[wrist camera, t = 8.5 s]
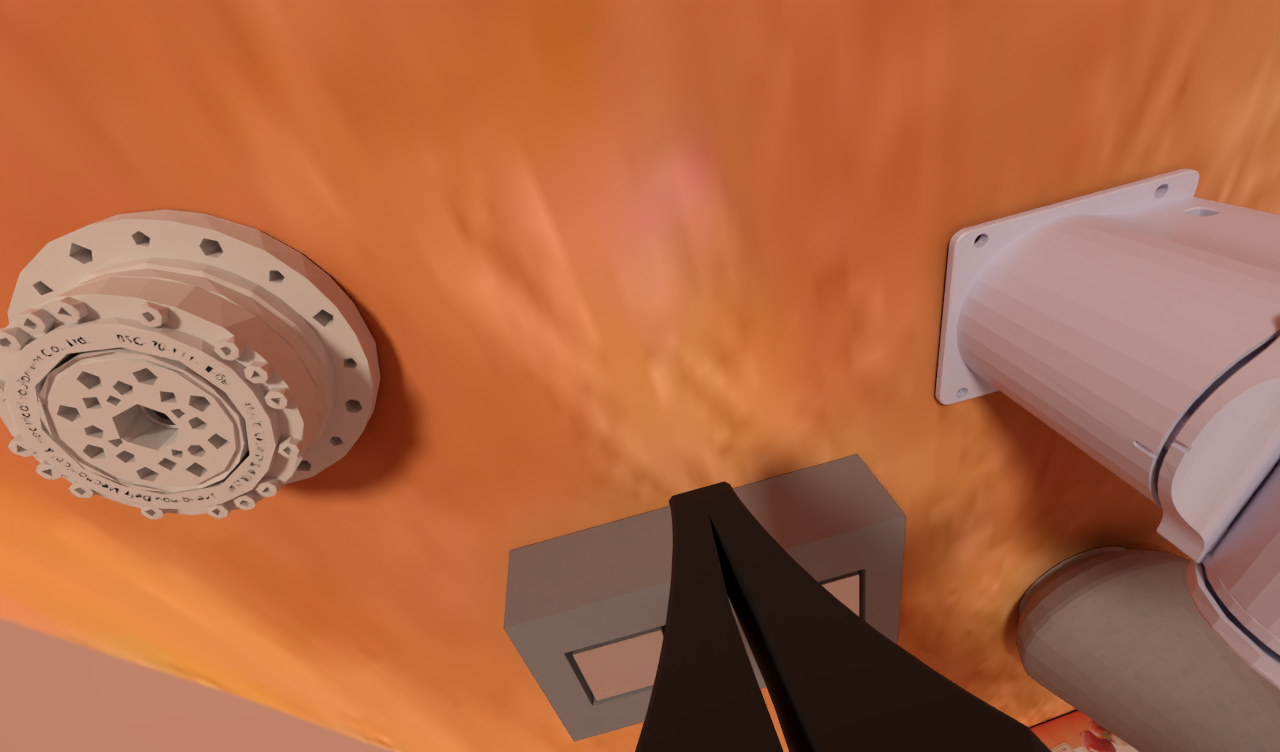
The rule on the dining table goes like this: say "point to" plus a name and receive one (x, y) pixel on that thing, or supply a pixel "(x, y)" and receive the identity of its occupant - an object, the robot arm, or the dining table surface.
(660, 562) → the block
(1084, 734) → the cracker box
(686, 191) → the dining table surface
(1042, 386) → the robot arm
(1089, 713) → the coffee pot
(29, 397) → the mechanical component
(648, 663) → the greyish pink cube
